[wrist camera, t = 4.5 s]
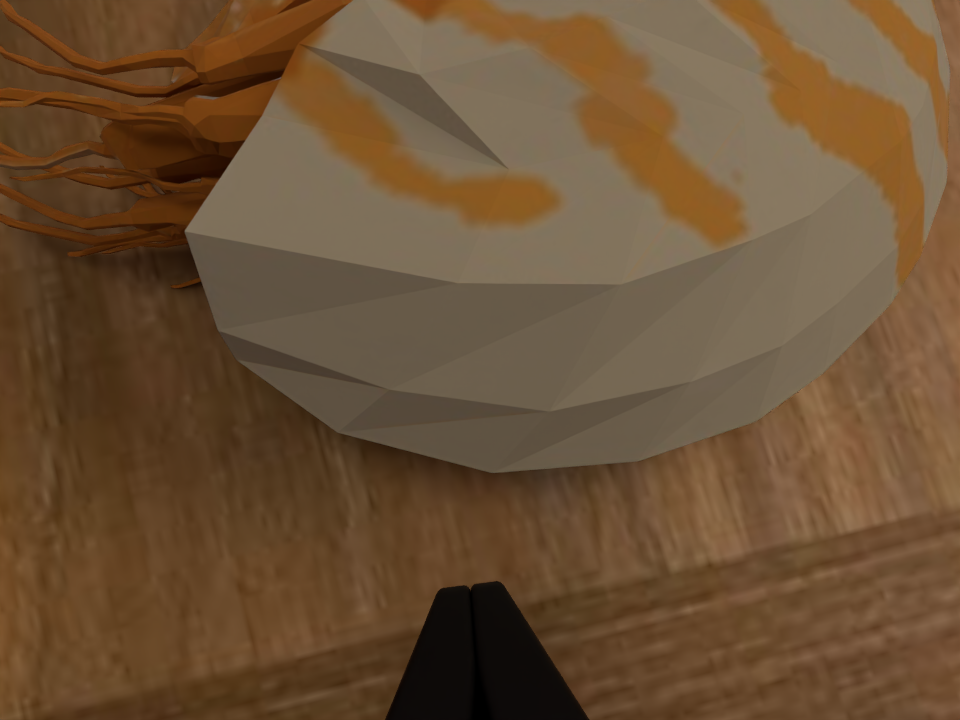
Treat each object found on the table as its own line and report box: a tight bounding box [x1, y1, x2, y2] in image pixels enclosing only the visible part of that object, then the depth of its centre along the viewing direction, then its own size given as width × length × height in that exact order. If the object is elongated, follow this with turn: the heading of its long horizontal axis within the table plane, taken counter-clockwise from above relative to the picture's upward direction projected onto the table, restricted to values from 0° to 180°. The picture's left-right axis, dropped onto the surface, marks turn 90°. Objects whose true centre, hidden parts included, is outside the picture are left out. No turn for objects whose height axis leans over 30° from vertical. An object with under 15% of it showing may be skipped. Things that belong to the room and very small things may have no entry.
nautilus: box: [0, 0, 950, 473], centre depth 14 cm, size 8×22×15 cm
